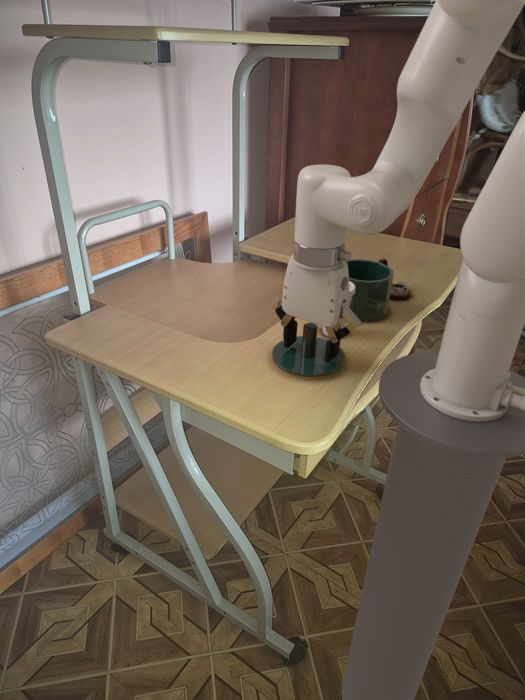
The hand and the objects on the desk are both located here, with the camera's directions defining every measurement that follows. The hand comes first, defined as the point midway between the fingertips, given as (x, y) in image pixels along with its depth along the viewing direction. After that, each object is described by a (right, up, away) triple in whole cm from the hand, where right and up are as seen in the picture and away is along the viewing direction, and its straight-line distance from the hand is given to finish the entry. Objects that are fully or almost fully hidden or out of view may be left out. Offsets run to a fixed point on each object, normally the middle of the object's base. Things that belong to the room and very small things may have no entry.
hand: (310, 350), depth 85 cm
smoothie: (+5, +3, +9) cm, 11 cm away
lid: (0, -1, +1) cm, 1 cm away
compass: (+21, +13, +25) cm, 35 cm away
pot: (+12, +9, +18) cm, 23 cm away
